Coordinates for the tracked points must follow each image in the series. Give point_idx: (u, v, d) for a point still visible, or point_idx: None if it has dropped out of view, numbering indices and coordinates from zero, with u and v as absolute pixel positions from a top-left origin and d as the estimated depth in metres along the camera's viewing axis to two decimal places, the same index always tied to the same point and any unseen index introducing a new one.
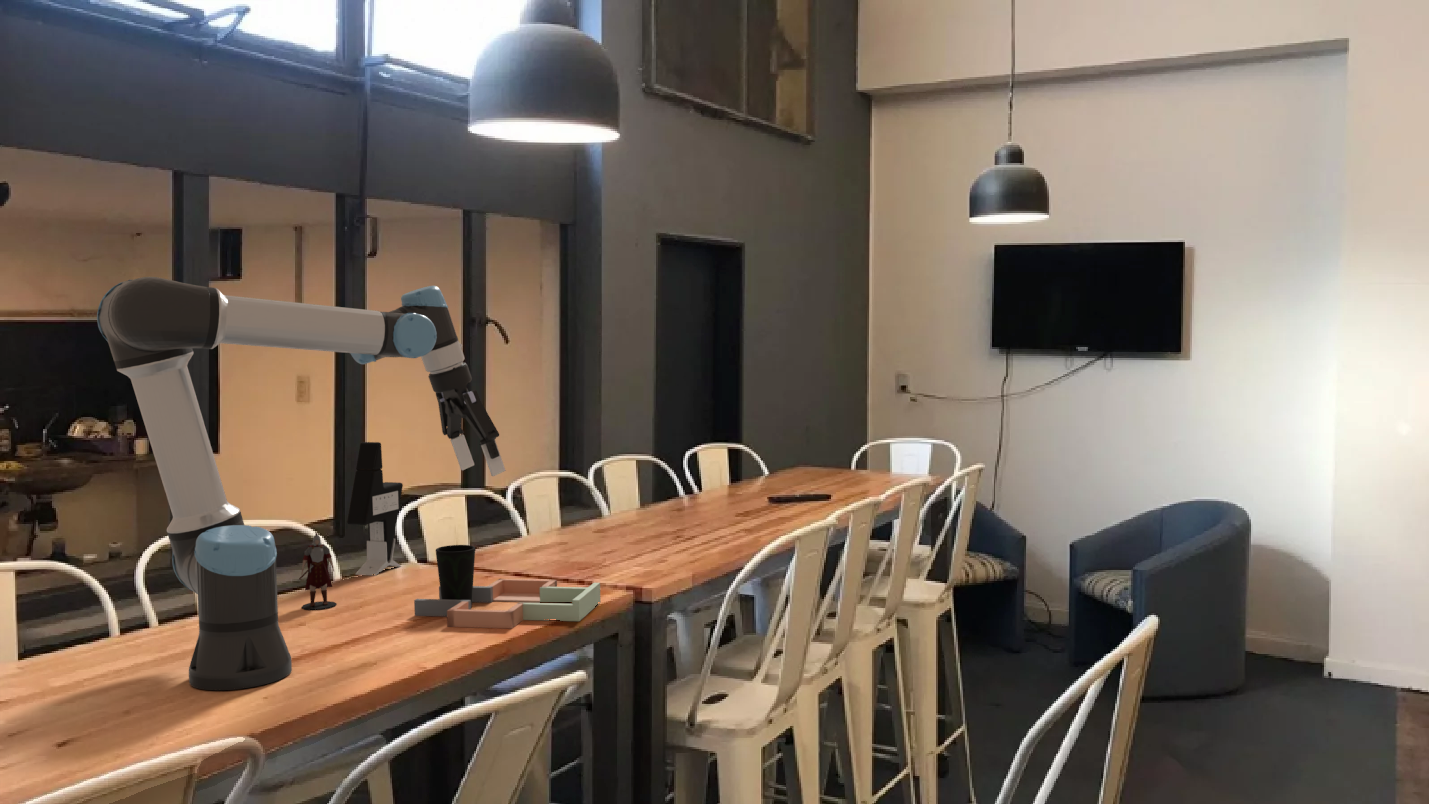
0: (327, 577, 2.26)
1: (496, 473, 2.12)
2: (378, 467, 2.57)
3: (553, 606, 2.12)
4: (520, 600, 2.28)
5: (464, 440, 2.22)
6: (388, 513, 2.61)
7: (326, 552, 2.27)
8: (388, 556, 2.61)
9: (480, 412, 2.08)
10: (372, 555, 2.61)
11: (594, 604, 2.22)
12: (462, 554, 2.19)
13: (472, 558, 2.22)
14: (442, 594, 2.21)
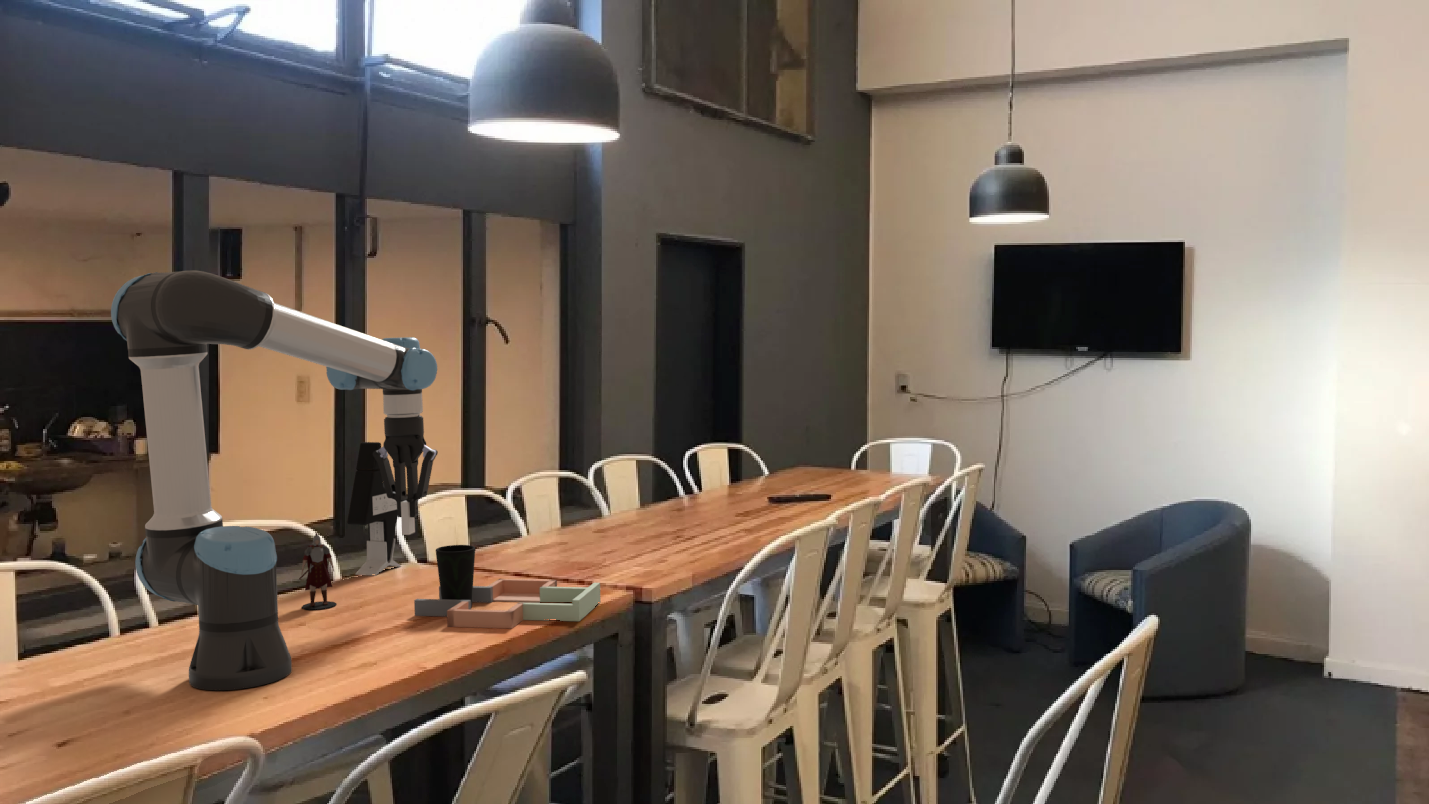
0: (327, 577, 2.26)
1: (410, 532, 2.24)
2: (378, 467, 2.57)
3: (553, 606, 2.12)
4: (520, 600, 2.28)
5: None
6: (388, 513, 2.61)
7: (326, 552, 2.27)
8: (388, 556, 2.61)
9: (429, 471, 2.23)
10: (372, 555, 2.61)
11: (594, 604, 2.22)
12: (462, 554, 2.19)
13: (472, 558, 2.22)
14: (442, 594, 2.21)
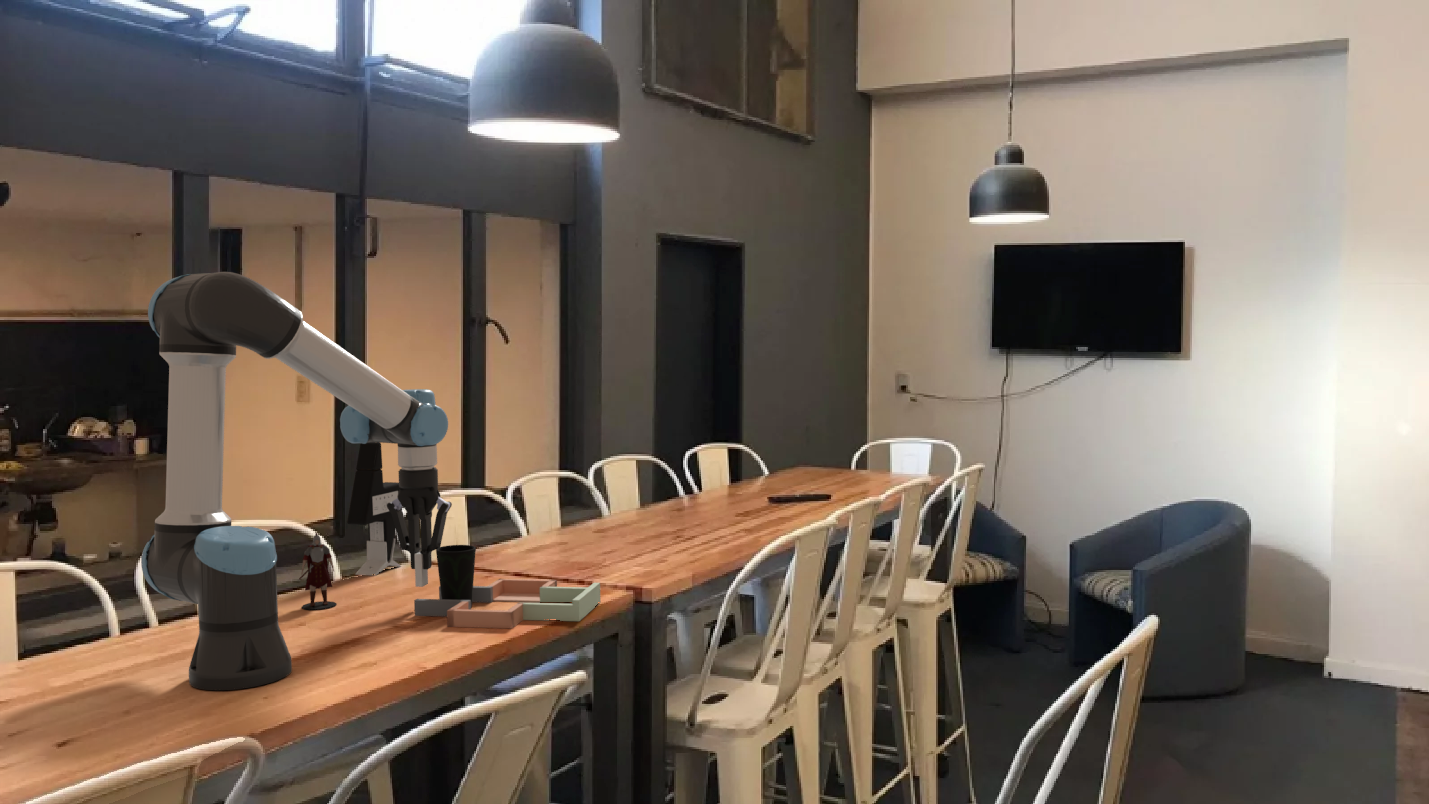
0: (327, 577, 2.26)
1: (424, 584, 2.24)
2: (378, 467, 2.57)
3: (553, 606, 2.12)
4: (520, 600, 2.28)
5: None
6: (388, 513, 2.61)
7: (326, 552, 2.27)
8: (388, 556, 2.61)
9: (442, 523, 2.23)
10: (372, 555, 2.61)
11: (594, 604, 2.22)
12: (462, 554, 2.19)
13: (472, 558, 2.22)
14: (442, 594, 2.21)
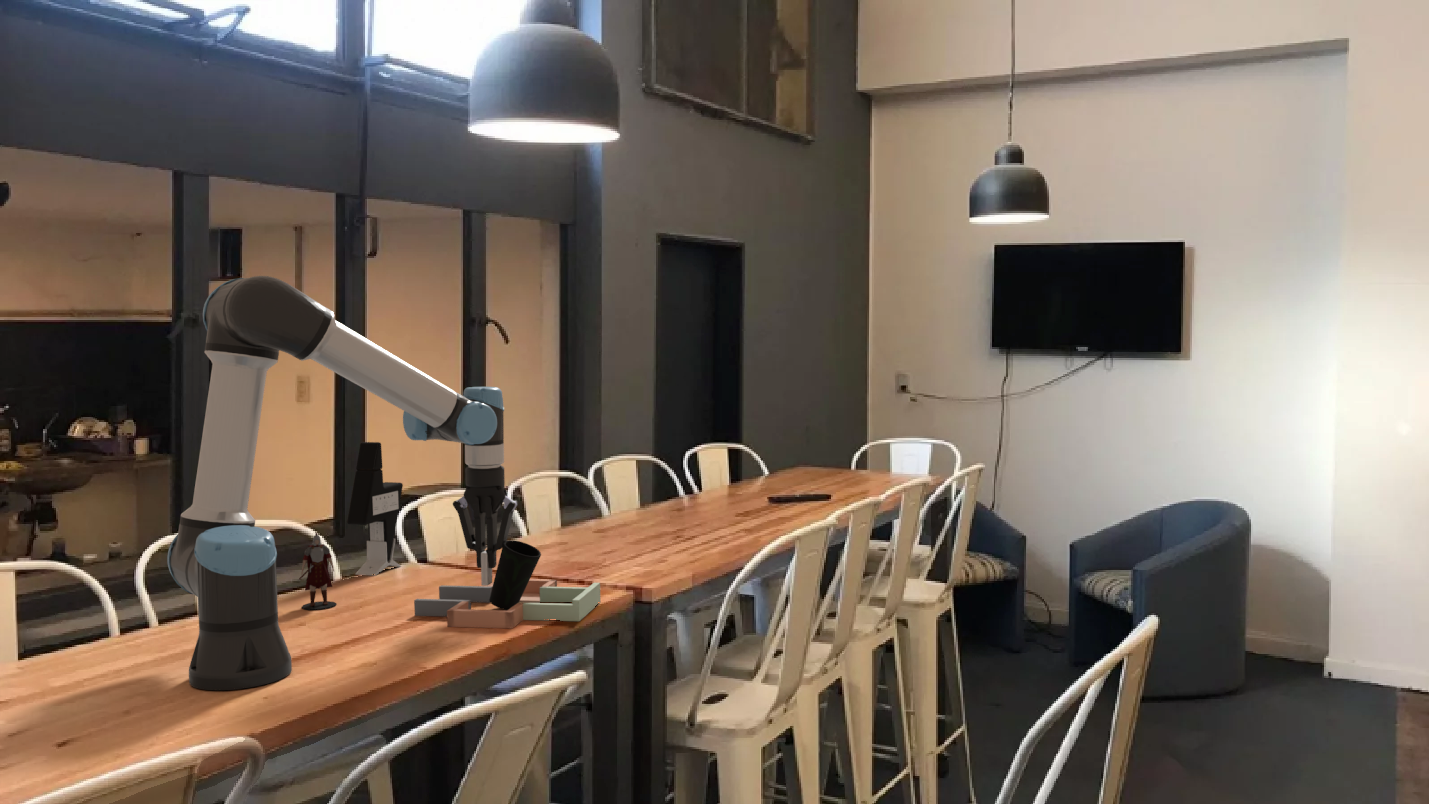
0: (327, 577, 2.26)
1: (488, 583, 2.22)
2: (378, 467, 2.57)
3: (553, 606, 2.12)
4: (520, 600, 2.28)
5: None
6: (388, 513, 2.61)
7: (326, 552, 2.27)
8: (388, 556, 2.61)
9: (509, 522, 2.21)
10: (372, 555, 2.61)
11: (594, 604, 2.22)
12: (528, 559, 2.18)
13: (535, 564, 2.20)
14: (494, 587, 2.20)
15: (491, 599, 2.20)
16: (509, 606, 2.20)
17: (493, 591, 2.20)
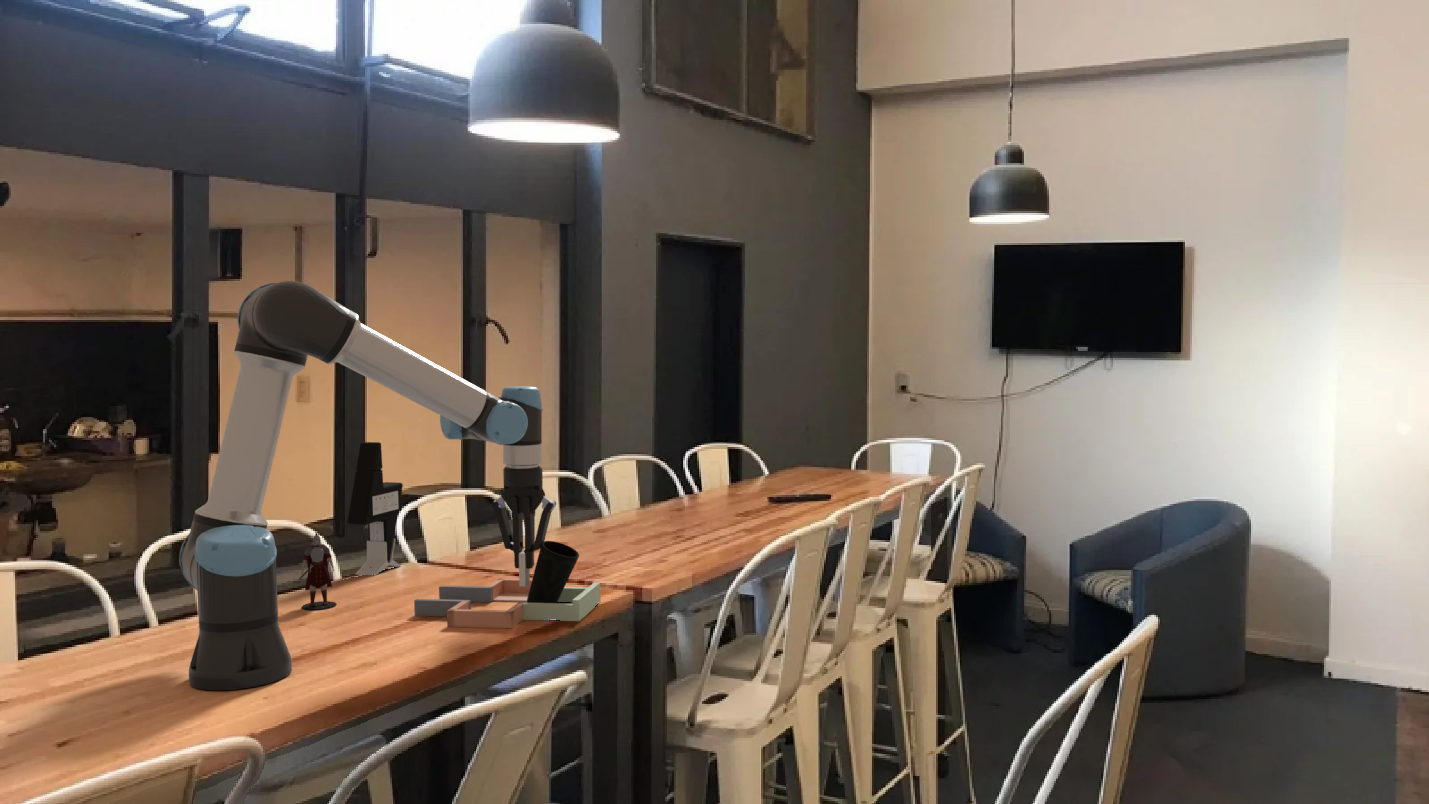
0: (327, 577, 2.26)
1: (526, 584, 2.21)
2: (378, 467, 2.57)
3: (553, 606, 2.12)
4: (520, 600, 2.28)
5: None
6: (388, 513, 2.61)
7: (326, 552, 2.27)
8: (388, 556, 2.61)
9: (547, 522, 2.20)
10: (372, 555, 2.61)
11: (594, 604, 2.22)
12: (567, 560, 2.16)
13: (573, 565, 2.19)
14: (532, 588, 2.19)
15: (529, 600, 2.19)
16: None
17: (531, 592, 2.19)
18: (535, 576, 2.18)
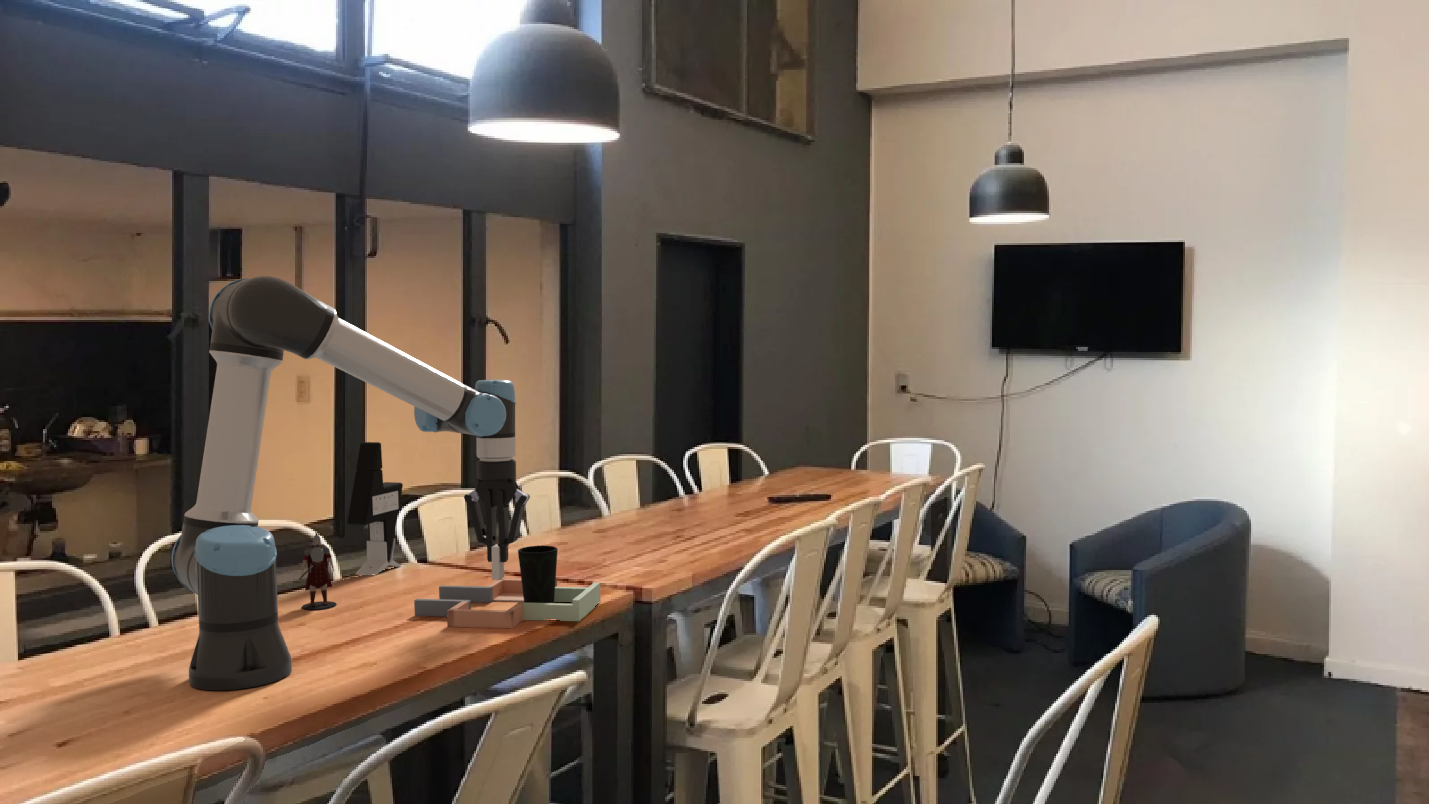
0: (327, 577, 2.26)
1: (500, 577, 2.20)
2: (378, 467, 2.57)
3: (553, 606, 2.12)
4: (520, 600, 2.28)
5: None
6: (388, 513, 2.61)
7: (326, 552, 2.27)
8: (388, 556, 2.61)
9: (520, 515, 2.20)
10: (372, 555, 2.61)
11: (594, 604, 2.22)
12: (546, 555, 2.17)
13: (555, 559, 2.19)
14: (525, 596, 2.19)
15: None
16: None
17: (525, 600, 2.19)
18: (523, 583, 2.19)
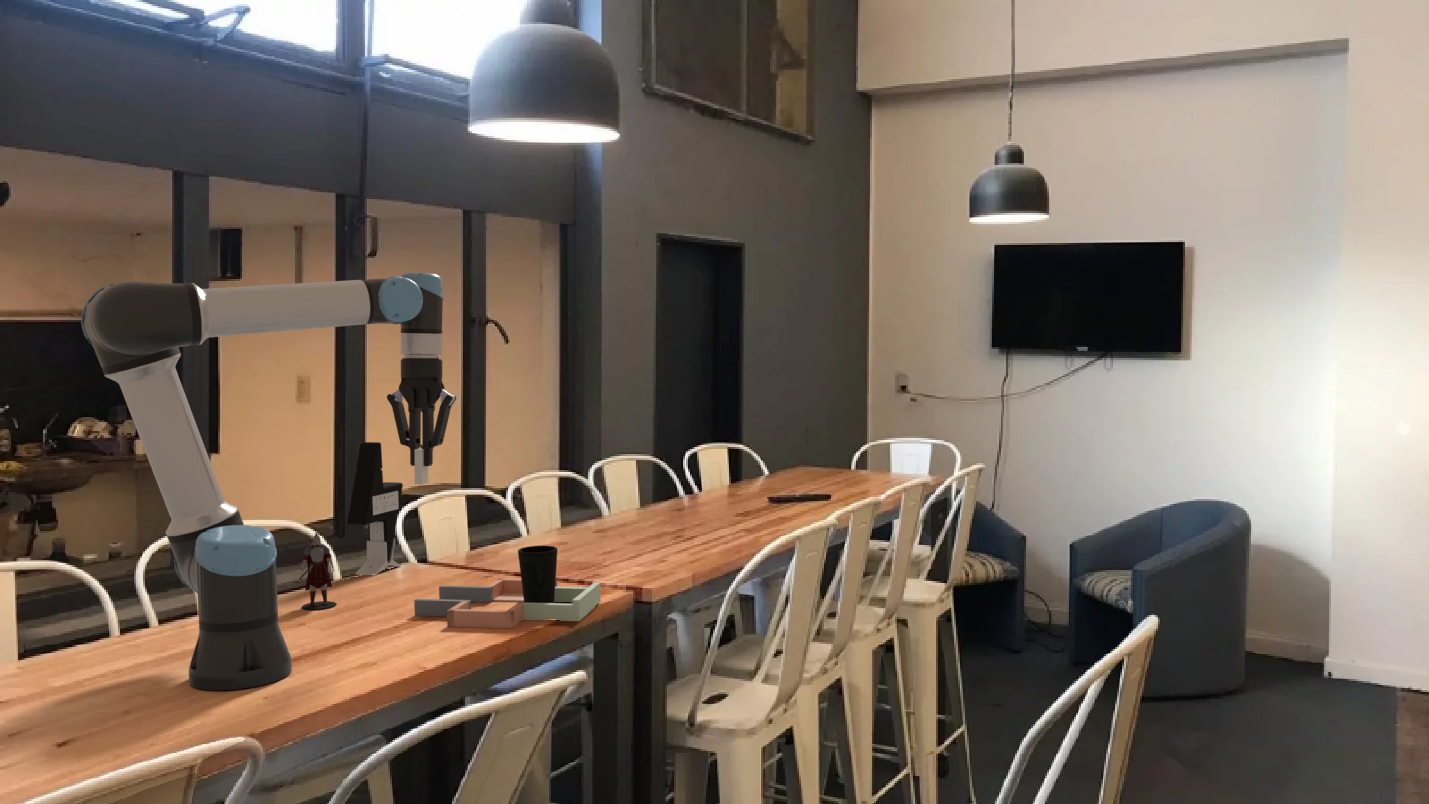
0: (327, 577, 2.26)
1: (423, 482, 2.09)
2: (378, 467, 2.57)
3: (553, 606, 2.12)
4: (520, 600, 2.28)
5: None
6: (388, 513, 2.61)
7: (326, 552, 2.27)
8: (388, 556, 2.61)
9: (446, 417, 2.09)
10: (372, 555, 2.61)
11: (594, 604, 2.22)
12: (546, 555, 2.17)
13: (555, 559, 2.19)
14: (524, 596, 2.19)
15: None
16: None
17: (525, 600, 2.19)
18: (523, 583, 2.19)
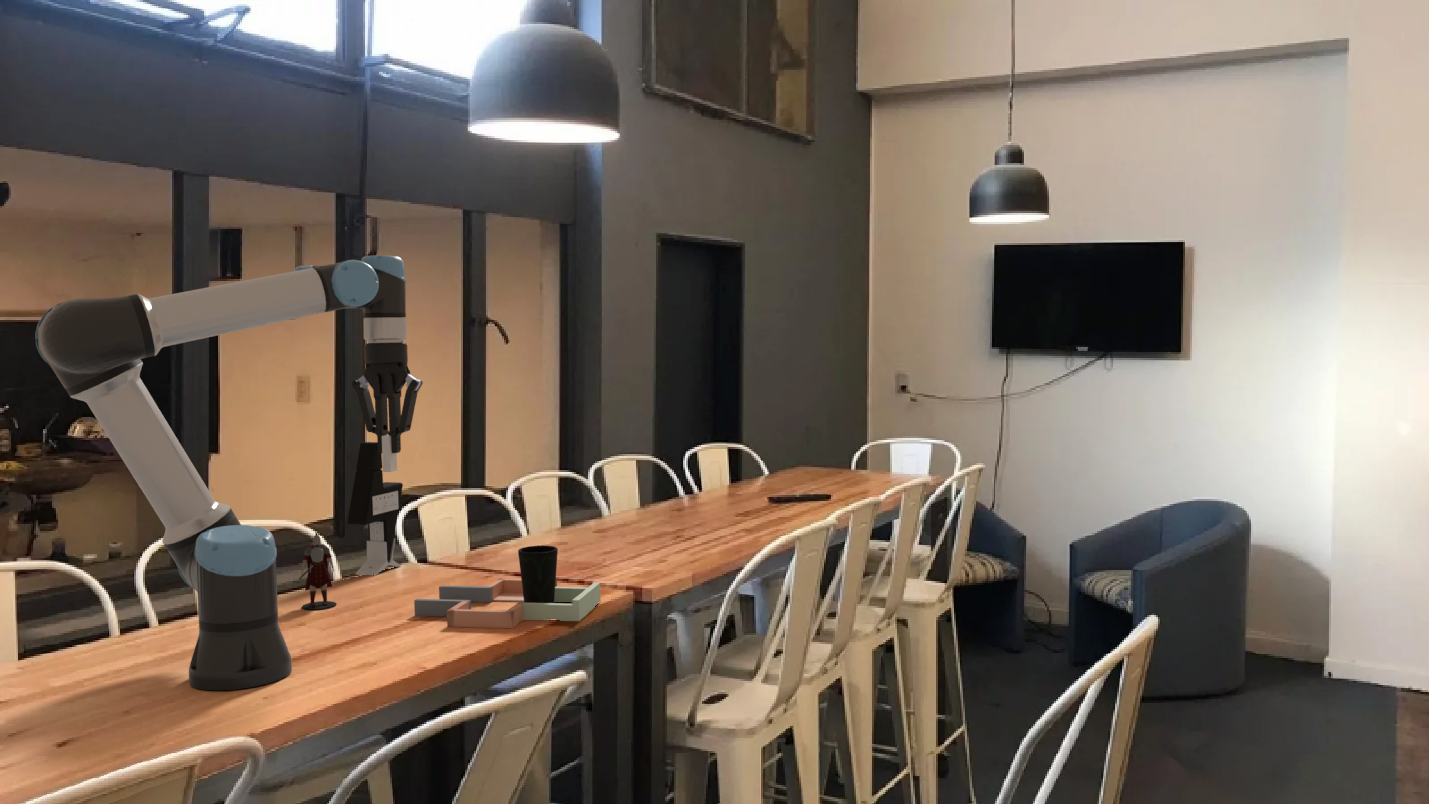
0: (327, 577, 2.26)
1: (392, 470, 2.05)
2: (378, 467, 2.57)
3: (553, 606, 2.12)
4: (520, 600, 2.28)
5: None
6: (388, 513, 2.61)
7: (326, 552, 2.27)
8: (388, 556, 2.61)
9: (412, 402, 2.04)
10: (372, 555, 2.61)
11: (594, 604, 2.22)
12: (546, 555, 2.17)
13: (555, 559, 2.19)
14: (525, 595, 2.19)
15: None
16: None
17: (525, 600, 2.19)
18: (523, 583, 2.19)
